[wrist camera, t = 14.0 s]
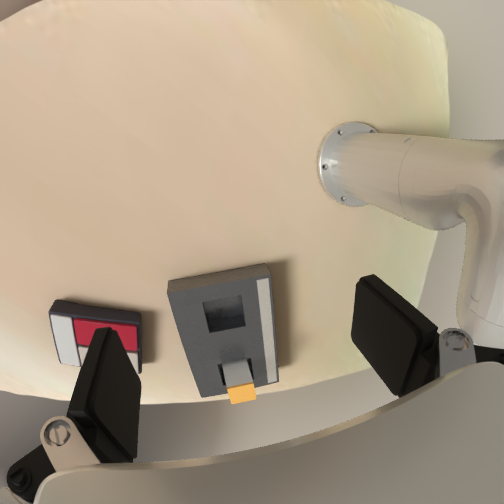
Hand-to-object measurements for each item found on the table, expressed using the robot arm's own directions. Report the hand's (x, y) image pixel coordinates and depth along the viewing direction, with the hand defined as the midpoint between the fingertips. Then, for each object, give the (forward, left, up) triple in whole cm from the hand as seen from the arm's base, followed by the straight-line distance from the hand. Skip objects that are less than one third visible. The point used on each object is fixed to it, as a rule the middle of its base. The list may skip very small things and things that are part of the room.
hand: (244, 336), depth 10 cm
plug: (0, +28, -28) cm, 39 cm away
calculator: (+21, +18, -29) cm, 40 cm away
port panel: (0, +22, -28) cm, 36 cm away
